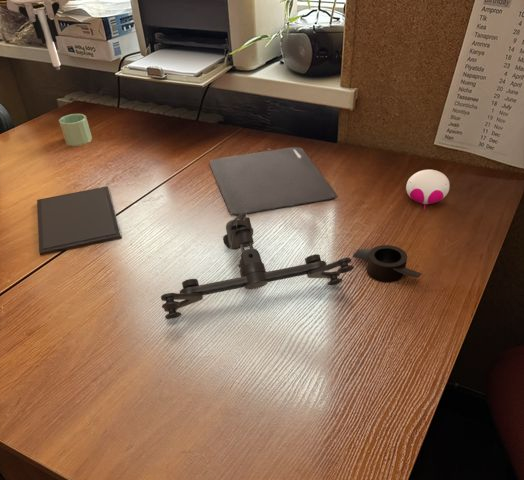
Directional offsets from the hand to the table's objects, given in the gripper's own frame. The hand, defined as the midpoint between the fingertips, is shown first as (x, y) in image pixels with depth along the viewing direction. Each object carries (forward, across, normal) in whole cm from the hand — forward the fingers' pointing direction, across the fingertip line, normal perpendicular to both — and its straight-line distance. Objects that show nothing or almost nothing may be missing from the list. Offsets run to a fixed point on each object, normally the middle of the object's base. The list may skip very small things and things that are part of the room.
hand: (49, 40), depth 106 cm
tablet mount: (+22, -21, +67) cm, 74 cm away
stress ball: (+22, -59, +57) cm, 85 cm away
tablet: (+21, +3, +38) cm, 43 cm away
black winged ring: (+22, -42, +74) cm, 87 cm away
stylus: (+6, 0, 0) cm, 6 cm away
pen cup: (+21, 0, 0) cm, 21 cm away
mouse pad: (+22, -36, +36) cm, 55 cm away
